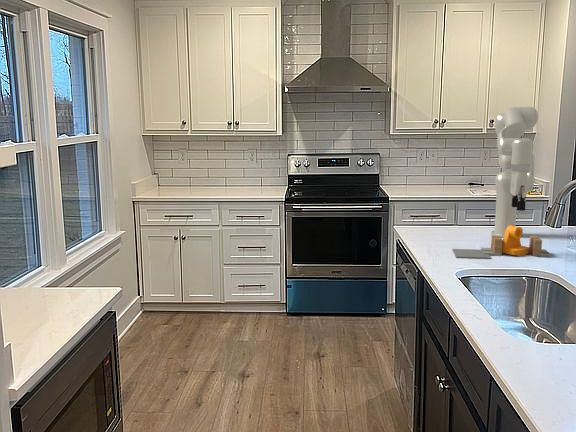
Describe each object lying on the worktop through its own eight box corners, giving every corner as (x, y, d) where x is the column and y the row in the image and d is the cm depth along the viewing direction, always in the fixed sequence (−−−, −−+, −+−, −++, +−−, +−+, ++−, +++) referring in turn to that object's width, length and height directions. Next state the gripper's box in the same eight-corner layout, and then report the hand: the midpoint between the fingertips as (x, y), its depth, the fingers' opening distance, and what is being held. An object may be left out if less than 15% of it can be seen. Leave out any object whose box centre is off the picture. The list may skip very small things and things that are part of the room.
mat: (452, 250, 250) (452, 248, 250) (485, 251, 248) (485, 249, 248) (456, 257, 237) (456, 256, 237) (490, 258, 234) (491, 257, 234)
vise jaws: (480, 249, 250) (481, 234, 249) (545, 251, 246) (546, 236, 244) (484, 255, 240) (485, 239, 239) (551, 257, 236) (552, 241, 235)
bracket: (513, 257, 237) (515, 229, 235) (499, 253, 243) (501, 226, 241) (530, 253, 242) (532, 226, 240) (516, 250, 249) (518, 223, 247)
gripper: (506, 167, 245) (504, 205, 248) (515, 170, 229) (513, 211, 231) (525, 167, 244) (522, 206, 247) (535, 170, 227) (532, 212, 230)
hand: (518, 208), depth 239 cm, fingers open, 9 cm apart
